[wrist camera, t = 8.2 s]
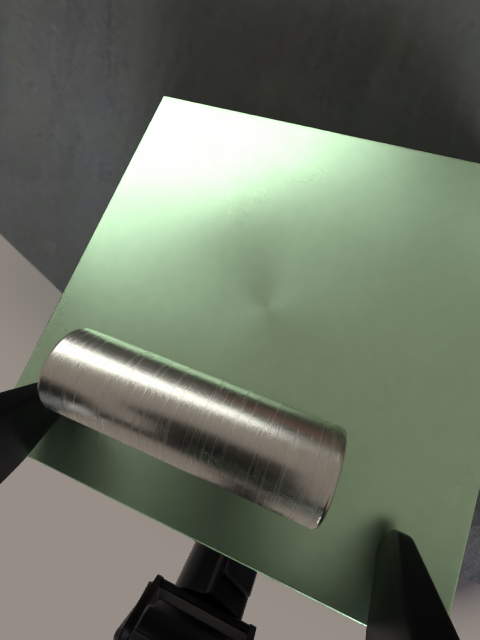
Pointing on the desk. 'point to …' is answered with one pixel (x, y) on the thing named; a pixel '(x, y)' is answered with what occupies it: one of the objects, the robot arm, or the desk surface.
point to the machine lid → (277, 349)
